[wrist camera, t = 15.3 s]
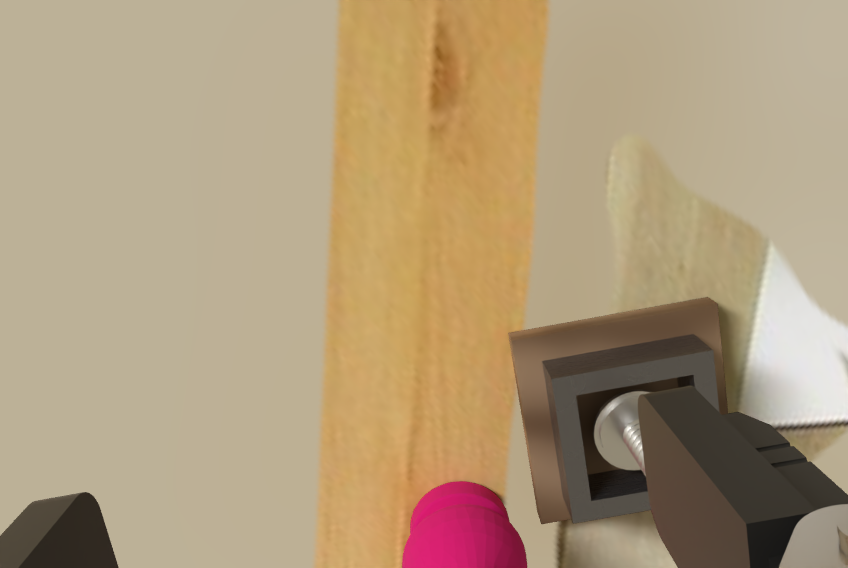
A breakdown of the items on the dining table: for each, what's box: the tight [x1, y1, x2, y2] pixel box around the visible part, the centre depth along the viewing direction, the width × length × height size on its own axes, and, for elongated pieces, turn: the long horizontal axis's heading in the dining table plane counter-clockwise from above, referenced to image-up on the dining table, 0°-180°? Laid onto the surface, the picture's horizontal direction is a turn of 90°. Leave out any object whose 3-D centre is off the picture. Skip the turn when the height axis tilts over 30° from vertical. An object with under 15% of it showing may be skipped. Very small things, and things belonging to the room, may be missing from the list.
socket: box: [542, 334, 719, 523], centre depth 45 cm, size 9×9×3 cm
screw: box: [593, 389, 652, 476], centre depth 40 cm, size 13×5×5 cm
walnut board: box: [508, 297, 728, 524], centre depth 47 cm, size 12×12×2 cm
